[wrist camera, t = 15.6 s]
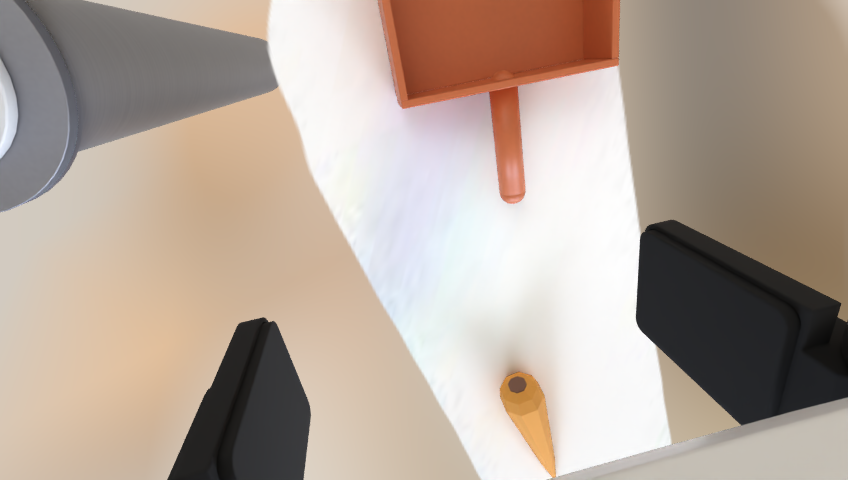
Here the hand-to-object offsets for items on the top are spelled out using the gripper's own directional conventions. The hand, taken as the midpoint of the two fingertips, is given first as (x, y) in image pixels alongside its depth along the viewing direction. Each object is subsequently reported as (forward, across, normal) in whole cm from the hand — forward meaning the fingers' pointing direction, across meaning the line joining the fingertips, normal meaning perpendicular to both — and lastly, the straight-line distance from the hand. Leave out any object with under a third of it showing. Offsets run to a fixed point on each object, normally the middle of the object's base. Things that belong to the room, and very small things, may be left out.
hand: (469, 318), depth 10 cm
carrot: (+24, -9, +35) cm, 43 cm away
